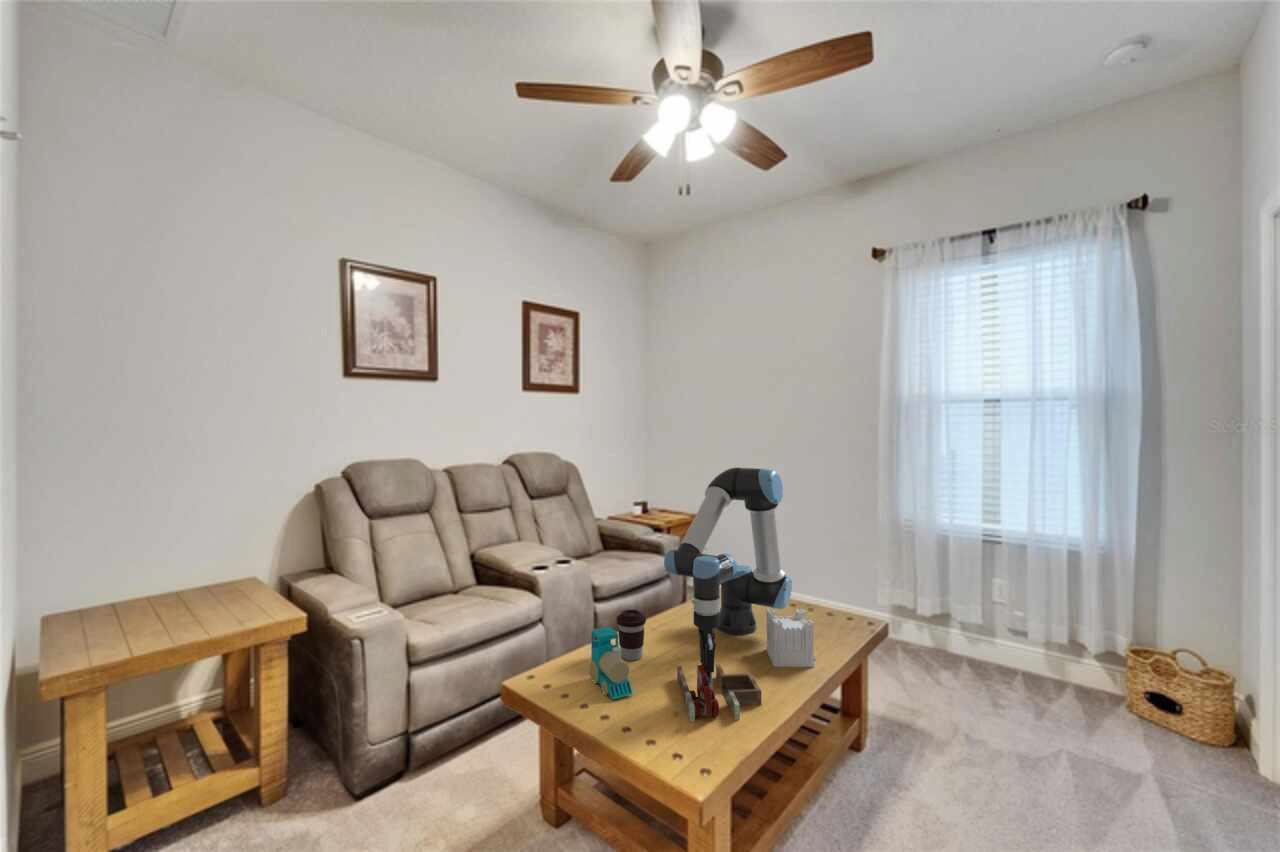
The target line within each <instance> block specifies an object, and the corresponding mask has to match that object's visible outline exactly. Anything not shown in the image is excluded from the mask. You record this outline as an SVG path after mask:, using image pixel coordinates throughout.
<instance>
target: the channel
mask: <svg viewBox="0 0 1280 852" xmlns="http://www.w3.org/2000/svg"><path fill="white" fill-rule="evenodd" d="M676 671H677V675H676V676H677V682H678V685H679V689H680V692H681V695H682V699H683V702H684V706H685V709H686V712H687V715H688V718H689V719H688V720H689V721H690V723H695V722H696V717H695V706H694V703H693V700H692V697H691V694H690V691H691V690H690V688H689V685H688V682H687V679H686V676H685V673H684V671H683V667H682V665H677V670H676ZM715 671H716V672H715V678H716V680H717V682H718V685H719V686H720V688H721V690H722V688H723V687H724V688H725V687H726V685H724V684H722V683H725V684H726V679H725V678H726V676H725V677H723V678H722V676H721V675H726V673H725V672H724V669H723V668H722V665H721V664H716V665H715ZM721 678H722V679H721ZM724 679H725V680H724ZM721 680H722V681H721ZM721 682H722V683H721ZM723 685H724V686H723ZM724 688H723V689H724ZM725 689H726V688H725ZM731 691H732V690H731ZM728 698H729V701H728V702H727V704H728V706H729V709H730V711H731V713H732V716H733V718H734V720H735V721H737V720H738V721H740V720H741V712H740V711H741V708H740V707H741V706H740V704H739V702H738V700H737V698H736V696H735V694H734V692H729V691H728Z"/></svg>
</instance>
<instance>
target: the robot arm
mask: <svg viewBox="0 0 1280 852" xmlns="http://www.w3.org/2000/svg"><path fill="white" fill-rule="evenodd" d="M783 487H784V486H783V482H782V479H781V476H780V475H779V473H778V472H777V471H776V470H774V469H767V468H763V467H762V468H754V467H753V468H752V467H751V468H749V467H747V468H746V467H732V468H728V469H725V470H724V471H722V472H721V473H719V474H718V475H716V476H715V477H714V479H712V480H711V482H710V483H709V484H708V486H707V488H706V489H705V491H704V498H703V501H702V503H701V505H700V507H699V509H698V511H697V512H696V514H695V516H694V518H693V520H692V521H691V523H690V525H689V528H688V529H687V531H686V533H685V535H684V536H683V538H682V540H681V542H680V544H679V546H678V548H677V549H675V548H674V549H669V550H668V551H667V552H665V556H664V561H663V564H664V569H665V571H666V572H667V573H669V574H672V575H676V576H681V577H682V576H683V577H689V578H693V579H692V582H693V584H692V585H693V588H692V589H693V599H692V600H691V604H693V625H694V626H695V627H697V628H698V629H697V631H698V639H699V642H698V643H699V656H700V657H699V661H700V663H701V665H703V667H704V670H705V672H706V674H707V677H708V678H709V679H710V684H709V686H710V689H712V690H713V673H714V672H715V655H716V652H715V651H716V647H717V645H716V643H715V639H716V638H715V632H714V629H716V628H717V629H718V630H719V631H721V632H723V633H727V634H730V635H747V634H751V633H755V632H756V630H757V620H756V617H755V614H754V611H753V607H752V605H757V606H763V607H768V608H771V609H778V610H783V609H785V608H787V606H788V604H789V602H790V599H791V596H792V591H793V590H792V589H793V580H792V578H791V577H789V576H786V571H785V569H784V568H783V567H782V566H781V560H780V550H779V540H778V532H777V524H776V523H777V522H776V521H777V520H776V513H775V510H776V509H777V508H778V506H779V503H781V501H782V500H783V497H784V496H783V495H784V494H783V491H784V488H783ZM732 501H742V502H743V501H744V508H745V509H746V510H747V511H748V512H749V516H750V523H751V530H752V540H753V548H754V557H755V566H756V568H754V570H753V568H752V567H751V566H749V565H745V564H744V565H738V563H737V561H736V559H735V558H734V556H733V555H731V554H728V553H721V554H718V555H713V554H706V553H703V552H704V550H705V547H706V546H707V543H708V541H709V540H710V538H711V536H712V533H713V532H714V530H715V528H716V526H717V523H718V521H719V519H720V517H721V515H722V513H724V512H723V511H724V509H725V508H727V507H728V506H730V504H731V502H732Z"/></svg>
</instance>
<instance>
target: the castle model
mask: <svg viewBox="0 0 1280 852" xmlns="http://www.w3.org/2000/svg"><path fill="white" fill-rule="evenodd" d="M776 613H777V612H776V610H775V608H771V609H770V608H767V609H766V646H765V649H766V652H767V654H768V657H769V659H770V661H771V663H772V665H773V667H774V668H776V667H777V668H815V661H816V660H817V656H815V654H814V653H815V651H814V649H815V648H814V643H815V642H814V640H815V639H814V634H815V632H814V630H815V629H814V627H815V626H814V625H815V624H814V622H813V620H812V619H808V620H807V619H806V611H805V610H804V609H803V608H800V609H798V608H795V615H794V616H793V615H789V616H787V615H784V617H783V615H779V617H778V615H777V614H776Z"/></svg>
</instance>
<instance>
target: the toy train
mask: <svg viewBox="0 0 1280 852" xmlns="http://www.w3.org/2000/svg"><path fill="white" fill-rule="evenodd" d="M590 635H591V637H590V638H591V639H590V641H591V644H590V645H591V646H590V647H591V648H590V649H591V650H590V651H591V660H590V663H589V674H590V677H591V678H590V679H591V680H594V682H595V683H596V684H599V685H600V686H601V692H602V691H603V692H604V694H605V695H606V696H609V697H610V698H611V700H616V699H620V698H623V697H627V696H631V695H634V693H633V689H632V686H631V683H630V678H629V677H628V676H629V675H630V668H629V665H628V663H627V662H626V660H624V659H623V658H622V657H621V648H620V646H619V632H617V631H615V629H613V628H612V627H611V626H607V627H606V626H605V627H601V628H595V629H591V630H590ZM595 637H596V638H597V640H595ZM612 640H615V644H613V643H612ZM594 682H593V683H594ZM595 683H594V684H595ZM603 692H602V693H603ZM604 694H603V695H604ZM605 695H604V696H605Z"/></svg>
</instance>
